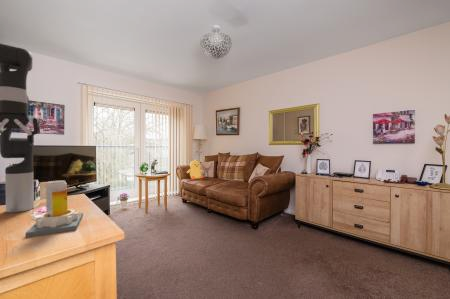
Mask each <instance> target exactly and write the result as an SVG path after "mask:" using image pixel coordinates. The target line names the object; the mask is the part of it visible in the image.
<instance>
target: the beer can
mask: <svg viewBox="0 0 450 299" xmlns="http://www.w3.org/2000/svg"><path fill="white" fill-rule="evenodd" d="M45 203H46V206H45V207H46V213H47V217H57V216H62V215H66V214H68V209H69V208H68V183H67V182H66V180H64V179H63V180H51V181H47V182H46V185H45Z"/></svg>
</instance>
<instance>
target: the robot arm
mask: <svg viewBox="0 0 450 299" xmlns="http://www.w3.org/2000/svg"><path fill="white" fill-rule="evenodd" d="M32 69H33V56H32V53H31V52H30V51H29V50H28V49H25V48H22V47H16V46H13V45H10V44H9V45H8V44H4V43H0V157H1V158H3V159H23V160H22V161H20V162H19V163H15V164H12V165H9V166H6V167H5V169H4V171H5V176H4V177H5V179H4V180H5V213H21V212H25V211H30V210H33V209H34V208H35V200H34V199H35V196H34V195H35V193H34V192H35V191H34V190H35V185H34V184H35V183H34V150H35V149H34V148H35V145H34V143H35V142H34V141H35V135H39V134H41V129H40V127H41V126H40V119H39V118H37V117H33V118H32V117H31V118H30V117H29V116H28V115H29V114H28V113H29V111H30V104H29V100H30V99H29V96H28V91H27V79H28V78H27V77H28V74H29V72H31V71H32ZM29 122H30V124H32V125H33V131H32V129H31V128H30V127H29V126H28V124H29ZM14 129H16V130H23V131H24V132H25V133H26V137H11V135H12V133H13V131H14ZM33 207H34V208H33ZM32 208H33V209H32Z"/></svg>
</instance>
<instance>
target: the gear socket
mask: <svg viewBox="0 0 450 299" xmlns="http://www.w3.org/2000/svg"><path fill="white" fill-rule="evenodd" d="M67 209H68V214H66V215H62V216H57V217H47V212H45V213H42V214H41V215H39V216H37V217H35V223H34V224H33V225H32V226H31V227H30V228H29V229H28V230H27V231H26V232H25V238H30V237H31V238H33V237H38V236H45V235H50V234H58V233H63V232H71V231H77V230H78V227H79V225H80V223H81V221H82V219H83V216H84V212H79V211H76V209H71V208H70V209H69V208H67Z"/></svg>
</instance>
